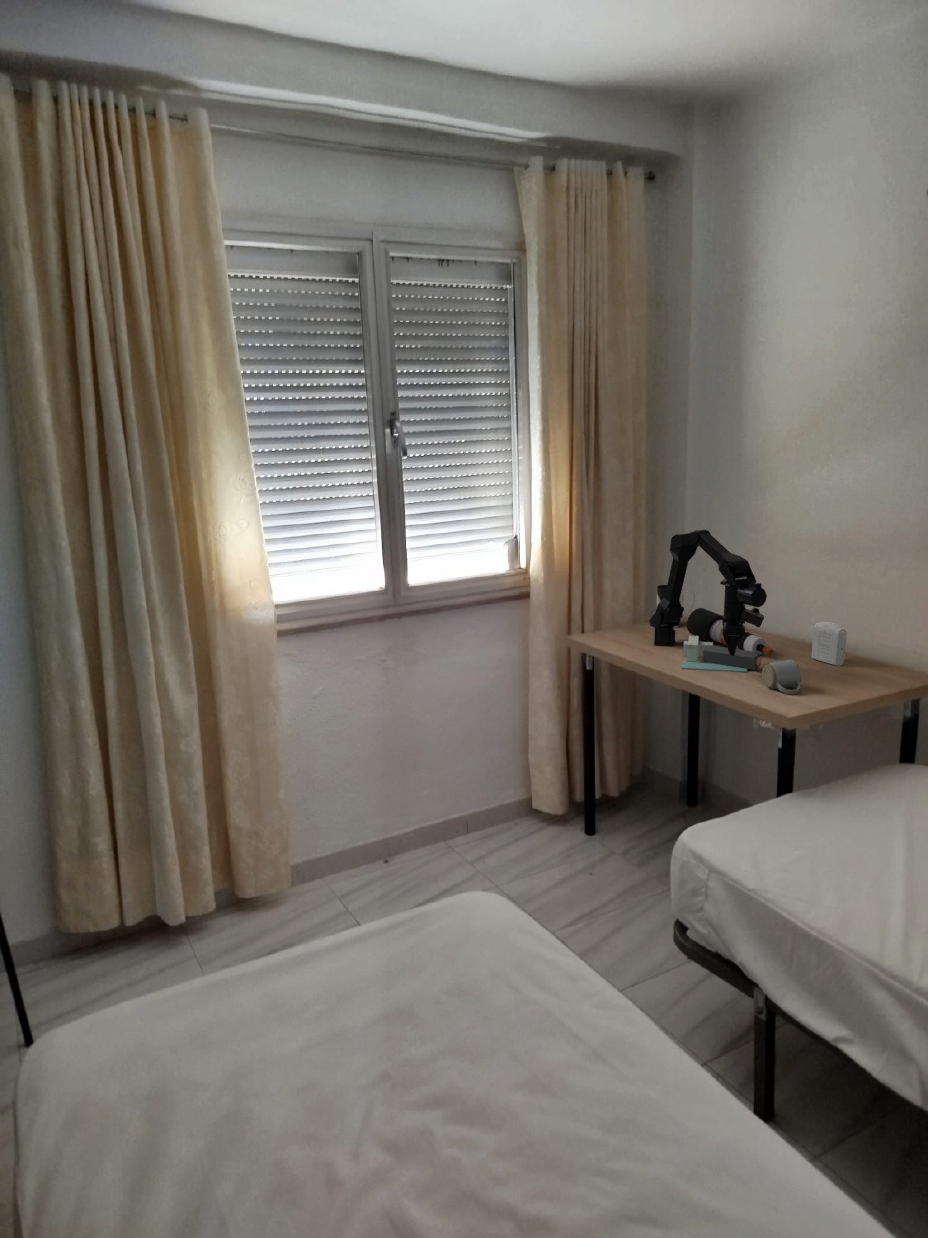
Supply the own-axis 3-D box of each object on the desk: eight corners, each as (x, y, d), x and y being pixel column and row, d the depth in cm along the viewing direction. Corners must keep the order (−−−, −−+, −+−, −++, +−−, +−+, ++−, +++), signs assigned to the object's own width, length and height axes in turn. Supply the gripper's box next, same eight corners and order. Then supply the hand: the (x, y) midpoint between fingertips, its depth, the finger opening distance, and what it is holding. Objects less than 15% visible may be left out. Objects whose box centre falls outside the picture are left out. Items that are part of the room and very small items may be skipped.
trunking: (683, 656, 257) (683, 644, 256) (683, 652, 261) (684, 641, 260) (712, 657, 254) (712, 645, 253) (712, 654, 258) (712, 642, 257)
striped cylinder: (763, 673, 251) (756, 648, 247) (691, 640, 280) (683, 618, 275) (786, 655, 254) (779, 631, 249) (712, 625, 282) (704, 602, 278)
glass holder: (657, 622, 304) (657, 584, 301) (695, 625, 299) (696, 585, 295) (652, 627, 296) (653, 588, 293) (692, 630, 291) (693, 589, 288)
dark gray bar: (701, 661, 249) (700, 650, 247) (706, 656, 251) (705, 644, 250) (757, 670, 238) (757, 658, 236) (762, 664, 240) (762, 652, 239)
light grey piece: (687, 662, 249) (687, 645, 248) (688, 651, 262) (689, 635, 261) (697, 663, 248) (697, 645, 247) (698, 652, 261) (698, 635, 260)
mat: (681, 668, 243) (681, 667, 243) (682, 662, 250) (682, 661, 249) (747, 672, 237) (747, 671, 237) (746, 666, 244) (746, 664, 244)
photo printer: (846, 664, 242) (849, 625, 240) (836, 666, 241) (839, 626, 238) (818, 657, 251) (821, 618, 249) (809, 658, 250) (811, 620, 247)
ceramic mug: (759, 684, 225) (760, 658, 224) (785, 682, 227) (787, 656, 225) (780, 696, 215) (782, 669, 213) (807, 694, 217) (809, 667, 215)
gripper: (764, 608, 226) (761, 661, 230) (761, 596, 244) (759, 645, 247) (723, 607, 230) (721, 659, 233) (723, 595, 247) (721, 643, 250)
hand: (732, 651), depth 241 cm, fingers open, 9 cm apart
